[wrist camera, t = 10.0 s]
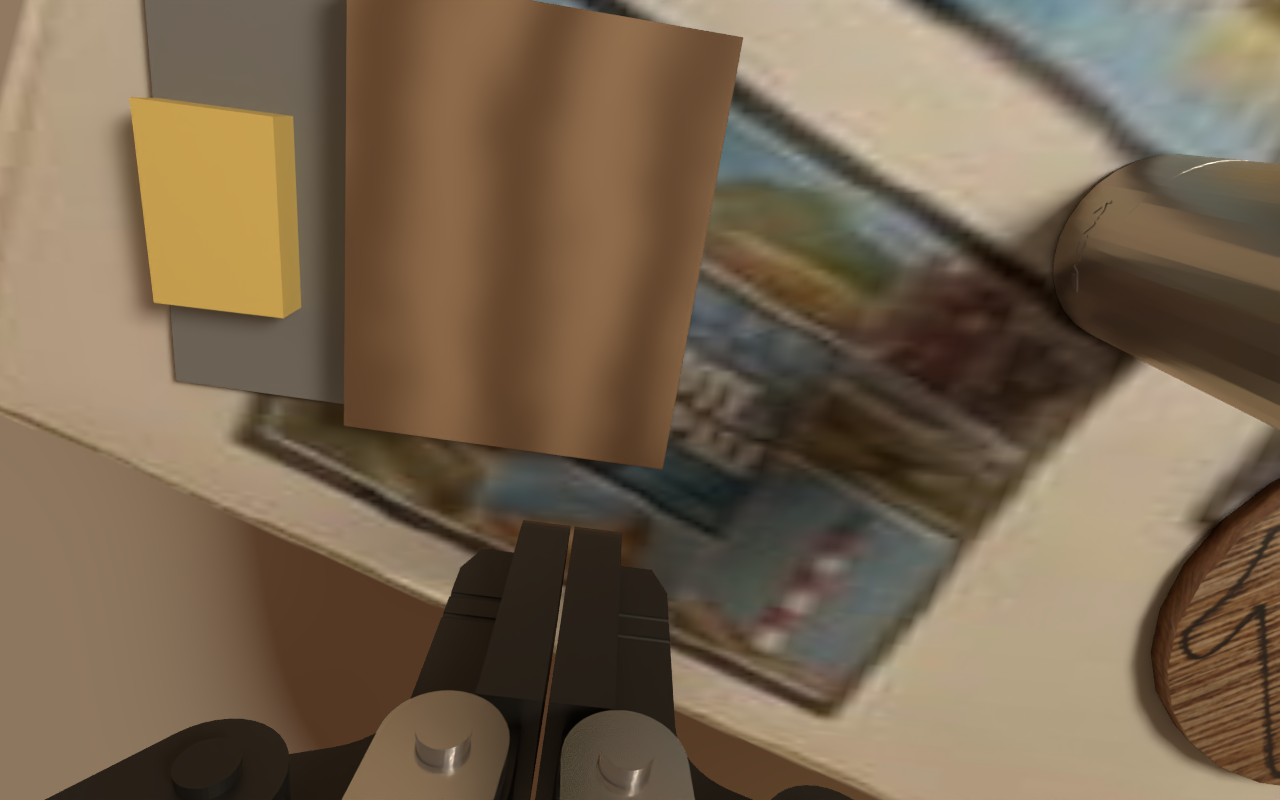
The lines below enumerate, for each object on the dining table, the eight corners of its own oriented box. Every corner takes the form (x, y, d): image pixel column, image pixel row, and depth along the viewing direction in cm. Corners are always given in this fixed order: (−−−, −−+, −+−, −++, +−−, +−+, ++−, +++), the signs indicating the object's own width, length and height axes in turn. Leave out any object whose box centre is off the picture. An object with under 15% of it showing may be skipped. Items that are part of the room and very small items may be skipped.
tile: (129, 97, 31) (157, 97, 33) (153, 302, 35) (178, 292, 36) (273, 116, 32) (293, 116, 34) (283, 318, 35) (301, 307, 37)
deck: (734, 43, 33) (742, 37, 30) (660, 444, 40) (662, 469, 37) (372, -20, 32) (346, -32, 29) (364, 403, 39) (343, 425, 36)
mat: (365, -22, 32) (361, -23, 31) (358, 402, 39) (355, 405, 39) (146, -59, 31) (139, -62, 31) (181, 377, 39) (176, 380, 38)
